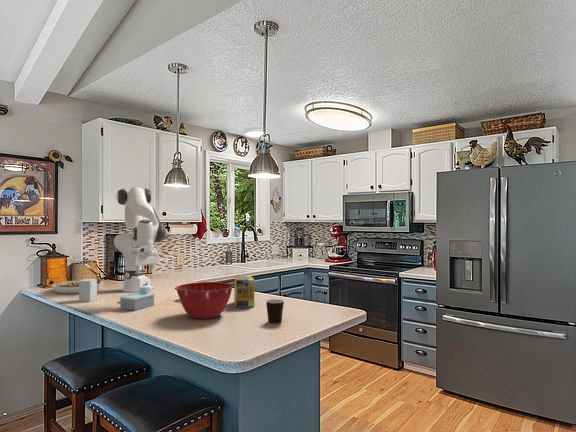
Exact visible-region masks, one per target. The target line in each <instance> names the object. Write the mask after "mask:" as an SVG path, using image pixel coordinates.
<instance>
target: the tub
mask: <svg viewBox="0 0 576 432" xmlns="http://www.w3.org/2000/svg"><path fill="white" fill-rule="evenodd" d="M119 299H120V298H119ZM119 305H120V307H119V309H120V310H122V311H131V312H136V311H140V310H143V309H147V308H150V307H153V306H155V295H153V296H149V297H145V298H141V299H137V300H130V299H120V303H119Z"/></svg>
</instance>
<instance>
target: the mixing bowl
mask: <svg viewBox="0 0 576 432" xmlns="http://www.w3.org/2000/svg"><path fill="white" fill-rule="evenodd" d="M233 288H234V285H233V284H232V283H227V282H221V281H220V282H218V281H217V282H216V281H214V282H213V281H212V282H211V281H204V282H203V281H202V282H191V283H190V282H189V283H183V284H180V285H177V286H176V289H177V294H178V298H179V300H180V304H181V306H182V307H183V309H184V311H185V313H186V314H187V315H188V316H189V317H191V318H193V319H197V320H199V319H200V320H203V319H204V320H205V319H206V320H207V319H213V318H217V317H219V315H221V314H222V313H223V312H224V311H225V309H226V307H227V305H228V302H229V300H230V298H231V294H232V291H233Z"/></svg>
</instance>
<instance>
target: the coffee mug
mask: <svg viewBox="0 0 576 432" xmlns="http://www.w3.org/2000/svg"><path fill="white" fill-rule="evenodd" d="M284 302H285V300H282V299H275V298H274V299H267V300H266V313H267V322H268V324H276V325H277V324H280V323H282V321H283V311H284V304H285V303H284Z"/></svg>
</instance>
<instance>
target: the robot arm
mask: <svg viewBox="0 0 576 432" xmlns="http://www.w3.org/2000/svg"><path fill="white" fill-rule="evenodd" d="M115 199H116V202H117V203H118V204H119V205H121V206H124V224H125V226H126V228H128V229H130V230H131V231H132V233H120V234H117V235H116V236H115V237H114V239H113V245H114V247H115V248H116V249H117V250H118V251H119V252H120V253H121V254H122V255H123V260H124V271H123V275H124V278H123V284H122V285H123V286H122V289H121V290H122V292H124V293H125V292H126V293H127V292H128V293H134V292H135V293H139V292H140V287H150V290H152V289H155V288H156V287H155V286H154V285H152V279H150V278H149V277H148V276H146V274H145V273H147V269H143V266H147V265H149V268H148V273H153V272H154V271H153V270H154V267H155V264H159V263H160V256H159V254H160V253H159V250H158V249H157V247H154V243H161V242H163V241H164V240H165V239H166V231H165V228H164V226H163V225H162V223H161V220H160V219H159V216H158V214H157V212H156V209H155V207H153V206H151V205H150V203H151V202H152V199H153V194H152V191H151V190H150V188H142V187H139V186H133V187H131V188H120V189H118V190H117V193H116V196H115ZM143 218H146V219H147V220H146V219H143Z"/></svg>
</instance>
